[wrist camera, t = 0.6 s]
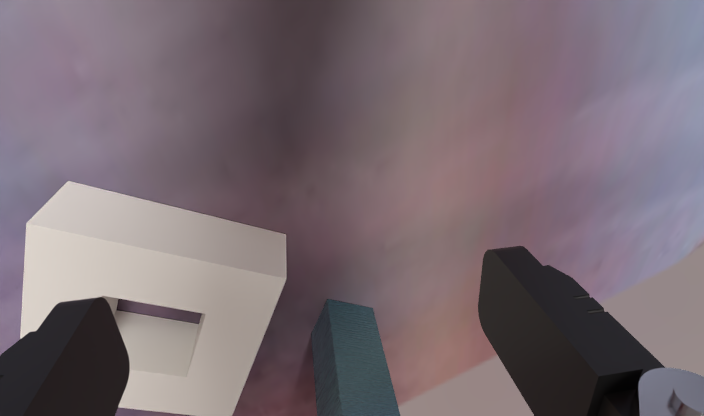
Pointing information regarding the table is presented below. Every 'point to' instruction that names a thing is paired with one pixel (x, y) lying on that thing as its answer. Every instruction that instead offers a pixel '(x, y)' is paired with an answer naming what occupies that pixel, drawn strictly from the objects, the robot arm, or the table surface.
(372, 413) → the bracket post
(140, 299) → the well block
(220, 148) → the table surface
